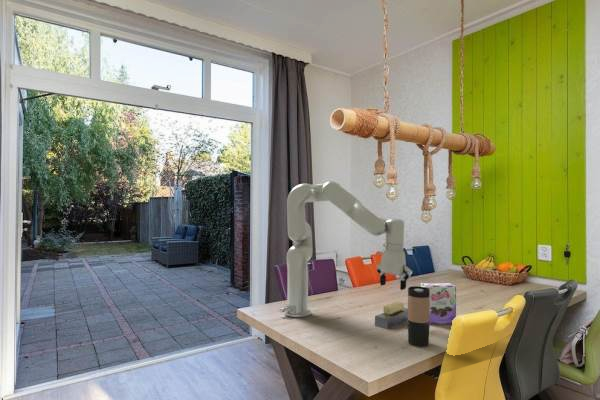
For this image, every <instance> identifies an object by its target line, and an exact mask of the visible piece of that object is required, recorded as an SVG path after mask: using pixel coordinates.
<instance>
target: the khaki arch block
mask: <svg viewBox="0 0 600 400" xmlns="http://www.w3.org/2000/svg"><path fill="white" fill-rule="evenodd" d="M404 305H405V304H404V302H401V301H395V302H392V303H389V304H386V305H383V313H385V315H387V316H394V312H398V313H401V312H402V309H404V308H405V307H404Z"/></svg>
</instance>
